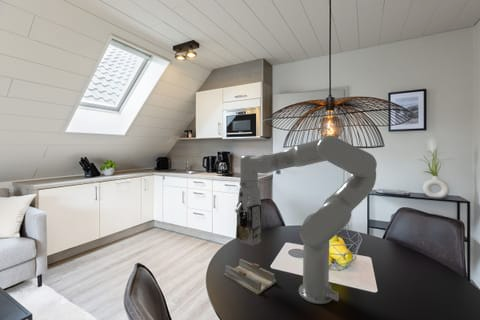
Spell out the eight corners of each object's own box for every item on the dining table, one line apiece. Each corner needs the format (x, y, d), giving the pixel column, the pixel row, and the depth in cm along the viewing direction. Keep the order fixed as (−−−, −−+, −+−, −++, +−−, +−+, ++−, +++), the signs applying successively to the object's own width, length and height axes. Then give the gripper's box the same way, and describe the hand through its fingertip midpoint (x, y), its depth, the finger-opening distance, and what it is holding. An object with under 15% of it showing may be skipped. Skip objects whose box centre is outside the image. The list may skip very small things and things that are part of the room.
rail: (242, 266, 116) (242, 256, 115) (276, 282, 102) (276, 271, 101) (223, 275, 107) (223, 265, 107) (257, 294, 93) (257, 282, 93)
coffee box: (261, 241, 103) (261, 204, 102) (252, 246, 98) (252, 207, 97) (245, 236, 109) (245, 201, 108) (236, 240, 104) (236, 204, 104)
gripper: (241, 187, 94) (241, 232, 94) (268, 182, 106) (268, 222, 107) (228, 185, 99) (228, 227, 100) (255, 181, 111) (255, 219, 112)
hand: (249, 224), depth 103 cm, fingers closed on coffee box, 6 cm apart
